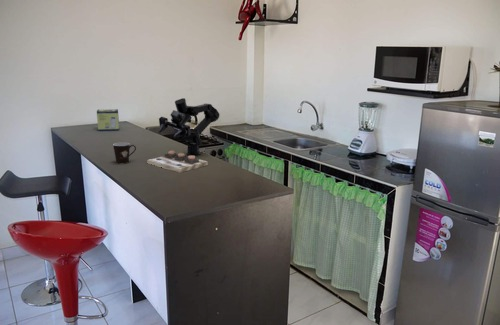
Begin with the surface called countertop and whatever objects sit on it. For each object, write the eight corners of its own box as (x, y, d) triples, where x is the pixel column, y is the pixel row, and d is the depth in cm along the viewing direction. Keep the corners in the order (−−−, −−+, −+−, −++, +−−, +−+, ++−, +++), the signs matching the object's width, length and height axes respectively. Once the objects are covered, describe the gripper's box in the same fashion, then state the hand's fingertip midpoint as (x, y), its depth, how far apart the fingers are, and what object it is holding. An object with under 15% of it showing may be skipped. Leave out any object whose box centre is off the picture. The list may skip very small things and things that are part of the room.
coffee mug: (113, 164, 203) (112, 146, 200) (114, 160, 211) (113, 142, 208) (136, 163, 206) (135, 145, 203) (136, 159, 214) (135, 142, 211)
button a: (171, 153, 215) (171, 150, 215) (176, 154, 213) (176, 151, 213) (166, 154, 213) (166, 151, 212) (171, 155, 211) (171, 152, 210)
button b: (191, 158, 206) (191, 155, 206) (196, 159, 204) (196, 156, 204) (186, 159, 203) (186, 156, 203) (191, 161, 201) (191, 157, 201)
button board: (175, 157, 222) (174, 150, 221) (207, 165, 207) (207, 158, 206) (147, 163, 207) (146, 156, 206) (180, 172, 192) (179, 165, 191)
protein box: (98, 129, 302) (97, 109, 298) (119, 128, 306) (118, 109, 302) (97, 131, 292) (96, 111, 288) (119, 130, 297) (118, 110, 293)
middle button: (181, 156, 211) (181, 152, 210) (186, 157, 209) (186, 153, 208) (176, 157, 208) (176, 153, 207) (181, 158, 206) (181, 154, 205)
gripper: (166, 102, 211) (149, 117, 200) (195, 112, 206) (180, 127, 195) (167, 119, 218) (152, 133, 208) (196, 129, 214) (181, 144, 203)
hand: (166, 134), depth 203 cm, fingers open, 9 cm apart
